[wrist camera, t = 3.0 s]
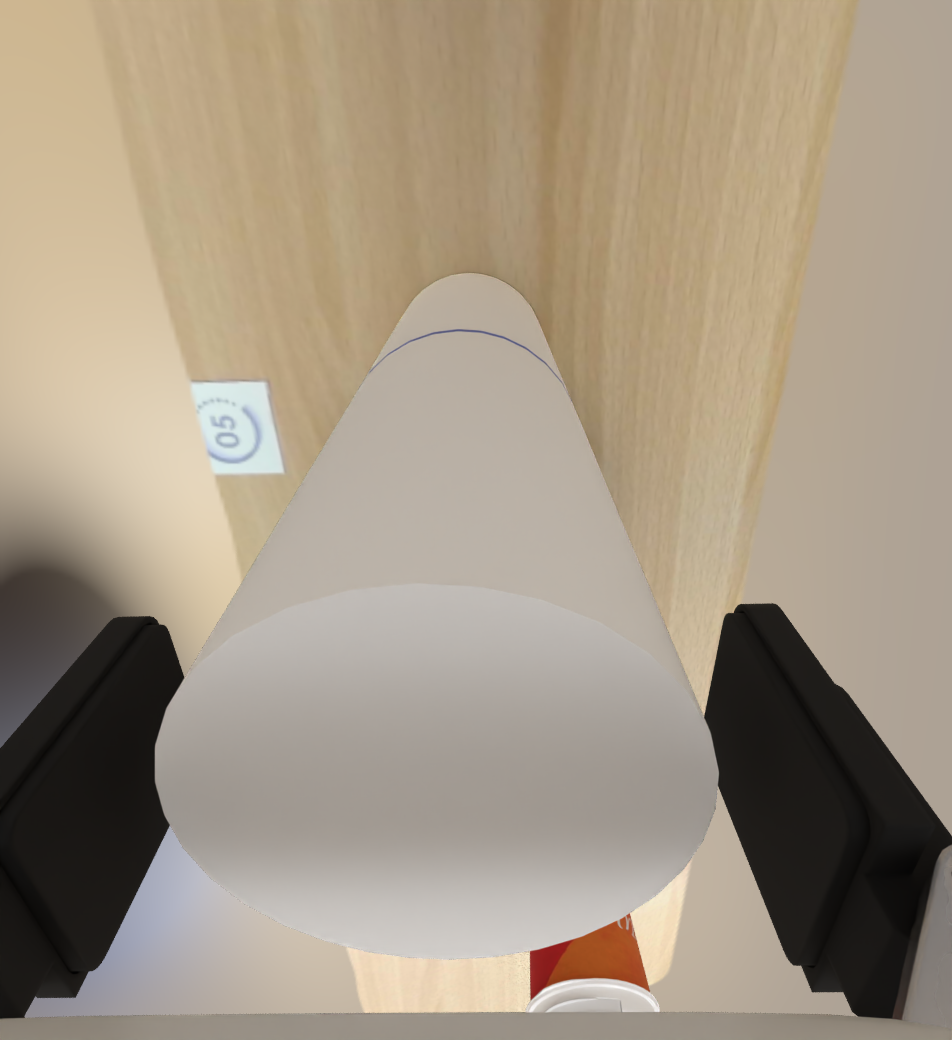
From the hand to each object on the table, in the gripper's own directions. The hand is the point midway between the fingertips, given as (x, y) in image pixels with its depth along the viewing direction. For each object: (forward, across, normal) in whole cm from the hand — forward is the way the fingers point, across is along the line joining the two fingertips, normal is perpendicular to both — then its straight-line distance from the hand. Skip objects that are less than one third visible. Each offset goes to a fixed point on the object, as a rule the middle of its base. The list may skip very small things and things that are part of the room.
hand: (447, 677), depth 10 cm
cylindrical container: (+22, 0, 0) cm, 22 cm away
